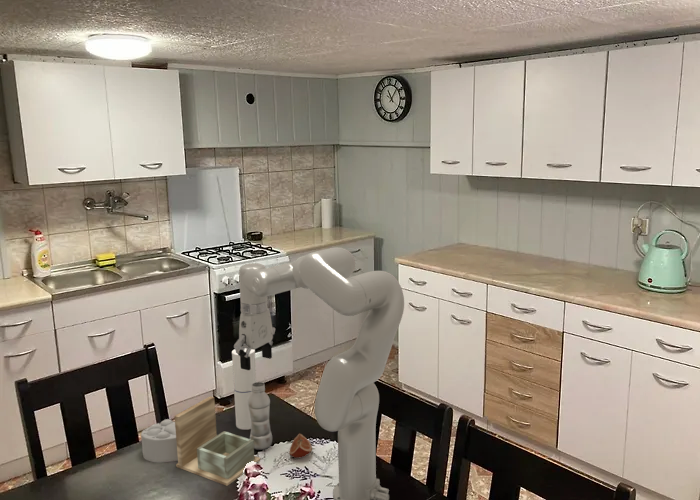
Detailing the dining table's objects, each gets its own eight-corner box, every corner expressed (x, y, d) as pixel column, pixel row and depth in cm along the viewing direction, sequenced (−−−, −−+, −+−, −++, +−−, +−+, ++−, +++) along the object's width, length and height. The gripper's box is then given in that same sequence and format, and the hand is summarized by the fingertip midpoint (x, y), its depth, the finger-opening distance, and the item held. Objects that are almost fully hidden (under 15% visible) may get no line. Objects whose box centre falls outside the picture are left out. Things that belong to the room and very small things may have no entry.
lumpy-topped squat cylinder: (186, 459, 166) (184, 432, 164) (139, 464, 164) (137, 436, 162) (190, 441, 176) (188, 415, 174) (146, 446, 174) (143, 419, 172)
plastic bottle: (268, 453, 168) (265, 389, 164) (246, 451, 169) (243, 388, 166) (275, 442, 174) (272, 380, 170) (254, 440, 176) (251, 379, 172)
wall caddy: (260, 460, 164) (258, 409, 161) (227, 486, 153) (223, 431, 150) (211, 444, 174) (207, 395, 171) (176, 466, 162) (172, 415, 159)
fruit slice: (290, 448, 171) (289, 432, 170) (312, 447, 171) (312, 431, 170) (288, 463, 163) (288, 447, 162) (312, 462, 163) (311, 446, 162)
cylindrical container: (233, 421, 188) (229, 349, 183) (255, 416, 191) (251, 345, 186) (239, 431, 181) (234, 356, 176) (261, 426, 184) (257, 352, 179)
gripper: (244, 317, 154) (247, 376, 158) (283, 301, 169) (284, 355, 172) (223, 313, 158) (226, 371, 161) (262, 297, 173) (265, 351, 176)
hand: (256, 363), depth 167 cm, fingers open, 9 cm apart
